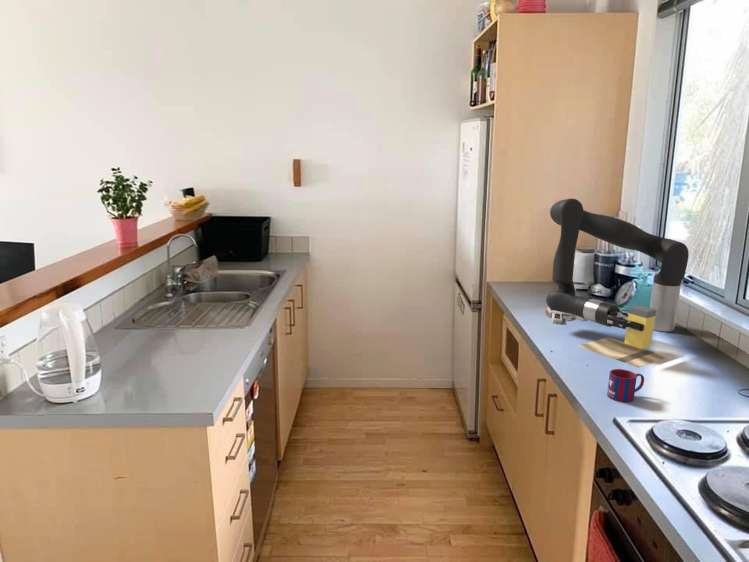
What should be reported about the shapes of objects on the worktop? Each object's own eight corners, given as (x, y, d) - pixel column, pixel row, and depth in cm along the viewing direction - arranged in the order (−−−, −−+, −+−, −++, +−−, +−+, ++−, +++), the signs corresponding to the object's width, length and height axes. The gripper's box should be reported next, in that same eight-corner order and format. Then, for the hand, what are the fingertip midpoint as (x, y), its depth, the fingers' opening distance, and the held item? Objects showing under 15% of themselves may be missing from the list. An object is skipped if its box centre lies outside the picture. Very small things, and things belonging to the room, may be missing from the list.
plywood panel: (607, 340, 205) (607, 337, 205) (668, 360, 188) (668, 356, 187) (576, 349, 196) (576, 345, 195) (637, 370, 178) (638, 367, 178)
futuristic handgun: (607, 321, 220) (597, 309, 234) (552, 318, 222) (545, 306, 236) (606, 328, 221) (596, 315, 235) (551, 325, 223) (545, 313, 237)
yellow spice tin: (633, 340, 191) (638, 305, 188) (650, 346, 186) (656, 309, 183) (624, 343, 188) (629, 307, 185) (641, 349, 183) (647, 312, 180)
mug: (602, 392, 162) (605, 369, 161) (636, 391, 164) (639, 368, 162) (615, 403, 156) (618, 379, 154) (650, 401, 157) (653, 377, 156)
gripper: (588, 304, 192) (637, 318, 178) (615, 299, 200) (663, 312, 186) (586, 326, 193) (633, 341, 180) (612, 320, 201) (659, 334, 188)
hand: (648, 326), depth 183 cm, fingers closed on yellow spice tin, 5 cm apart
